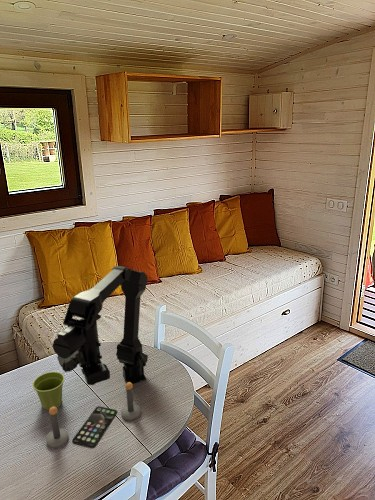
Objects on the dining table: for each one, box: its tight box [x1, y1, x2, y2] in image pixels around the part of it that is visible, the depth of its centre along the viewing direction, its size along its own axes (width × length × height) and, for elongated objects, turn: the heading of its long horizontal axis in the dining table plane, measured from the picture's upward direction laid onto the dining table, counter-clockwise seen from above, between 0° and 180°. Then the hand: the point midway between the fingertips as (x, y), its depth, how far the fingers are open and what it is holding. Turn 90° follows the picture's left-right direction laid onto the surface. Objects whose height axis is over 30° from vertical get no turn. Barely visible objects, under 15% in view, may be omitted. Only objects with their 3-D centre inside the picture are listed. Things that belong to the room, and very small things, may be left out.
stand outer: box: [45, 407, 69, 449], centre depth 106 cm, size 6×6×11 cm
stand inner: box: [120, 382, 142, 421], centre depth 116 cm, size 6×6×11 cm
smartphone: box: [71, 405, 118, 449], centre depth 113 cm, size 7×1×15 cm
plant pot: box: [32, 371, 65, 411], centre depth 120 cm, size 9×9×9 cm
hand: (92, 384), depth 111 cm, fingers closed
